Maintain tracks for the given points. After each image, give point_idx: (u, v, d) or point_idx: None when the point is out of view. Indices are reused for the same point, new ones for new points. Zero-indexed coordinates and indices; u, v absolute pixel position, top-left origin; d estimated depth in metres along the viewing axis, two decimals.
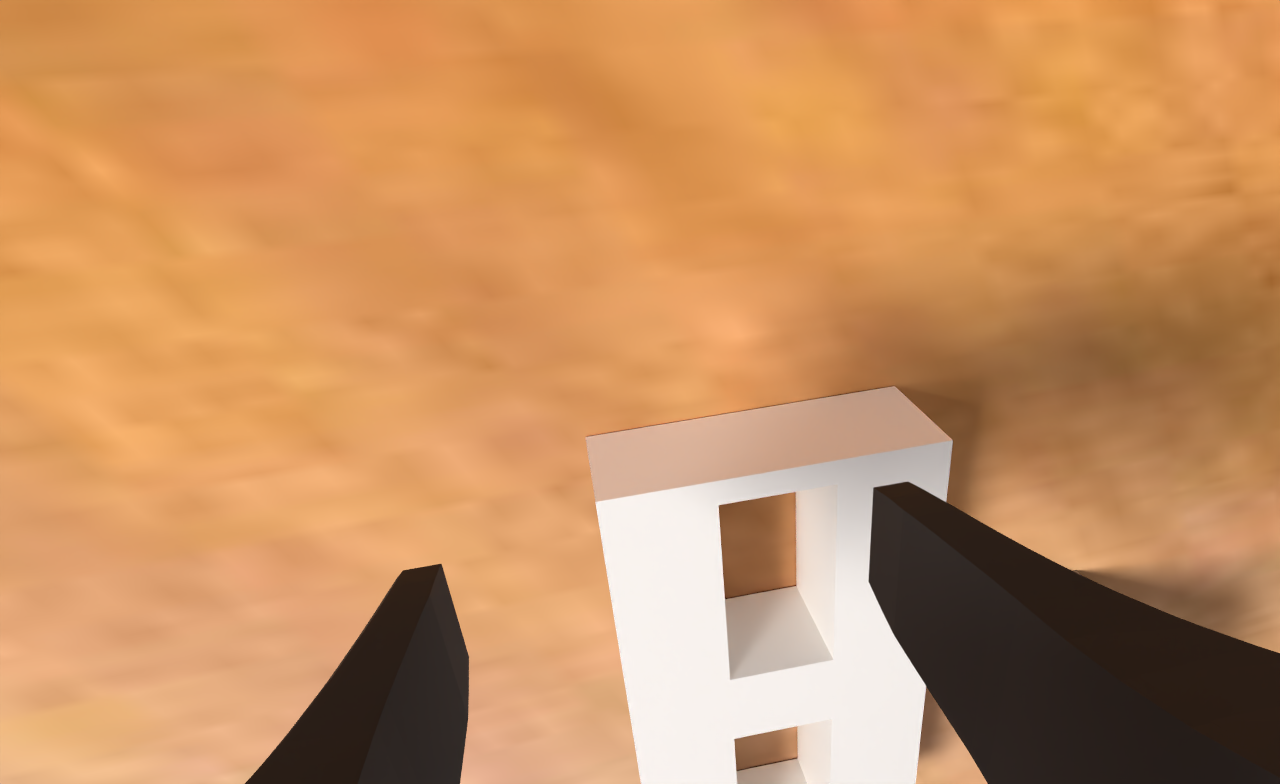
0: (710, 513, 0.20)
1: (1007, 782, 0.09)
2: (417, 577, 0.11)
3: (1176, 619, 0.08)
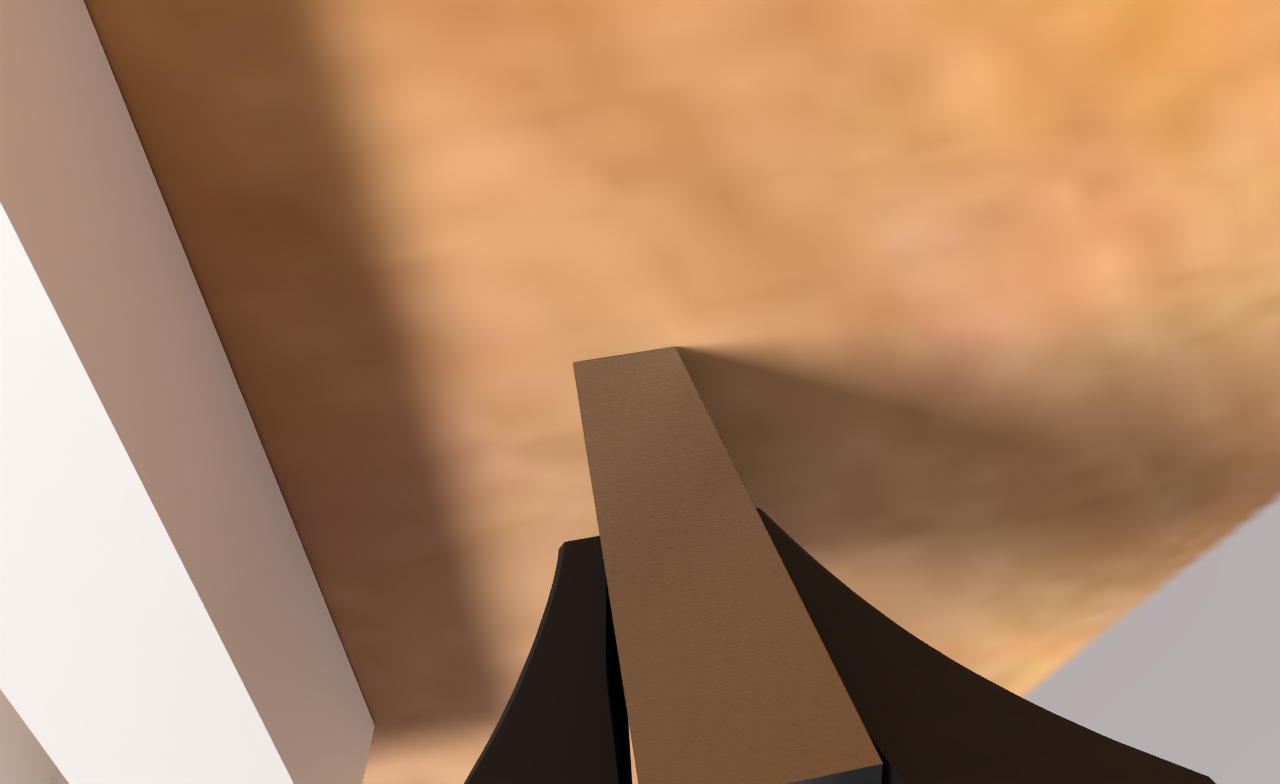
0: None
1: None
2: (585, 548, 0.11)
3: (957, 663, 0.08)
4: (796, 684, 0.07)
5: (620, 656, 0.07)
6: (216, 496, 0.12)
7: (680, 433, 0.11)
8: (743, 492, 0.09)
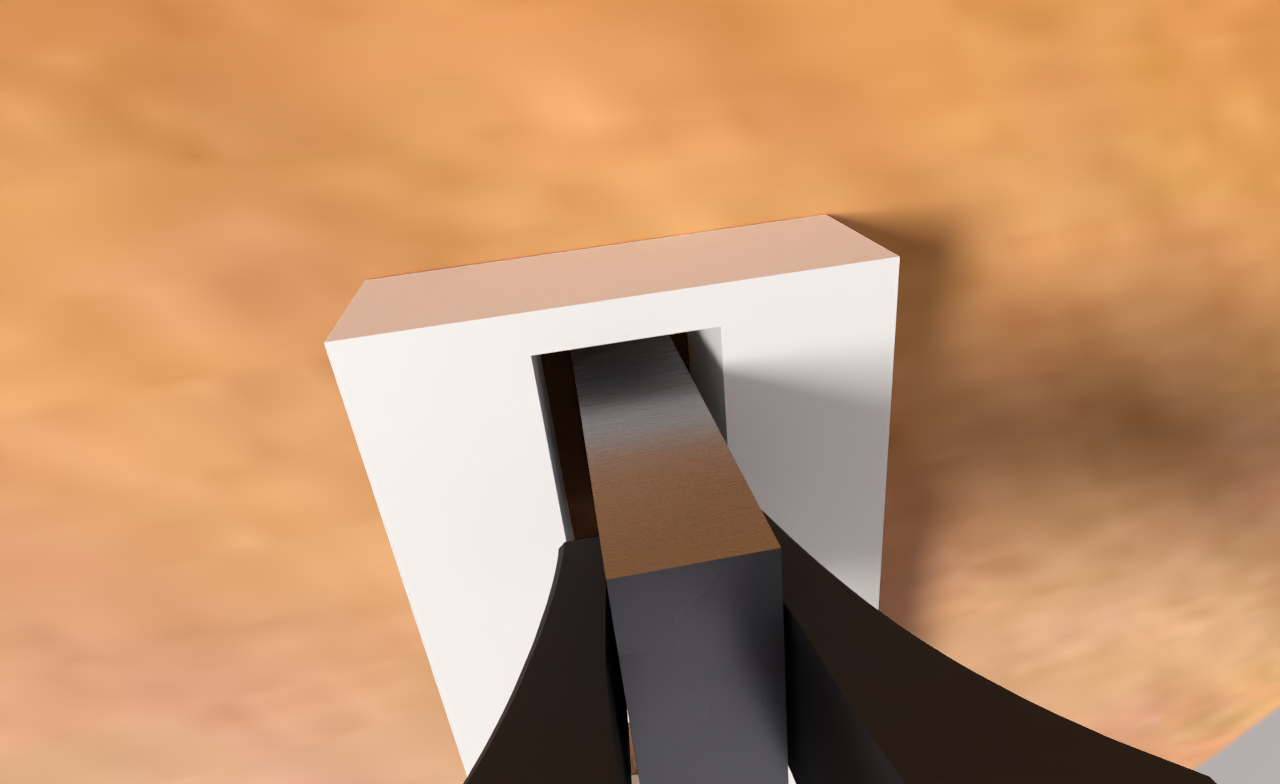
0: (519, 369, 0.13)
1: None
2: (584, 548, 0.11)
3: (958, 663, 0.08)
4: (725, 509, 0.09)
5: (595, 499, 0.09)
6: None
7: (653, 364, 0.13)
8: (699, 399, 0.12)
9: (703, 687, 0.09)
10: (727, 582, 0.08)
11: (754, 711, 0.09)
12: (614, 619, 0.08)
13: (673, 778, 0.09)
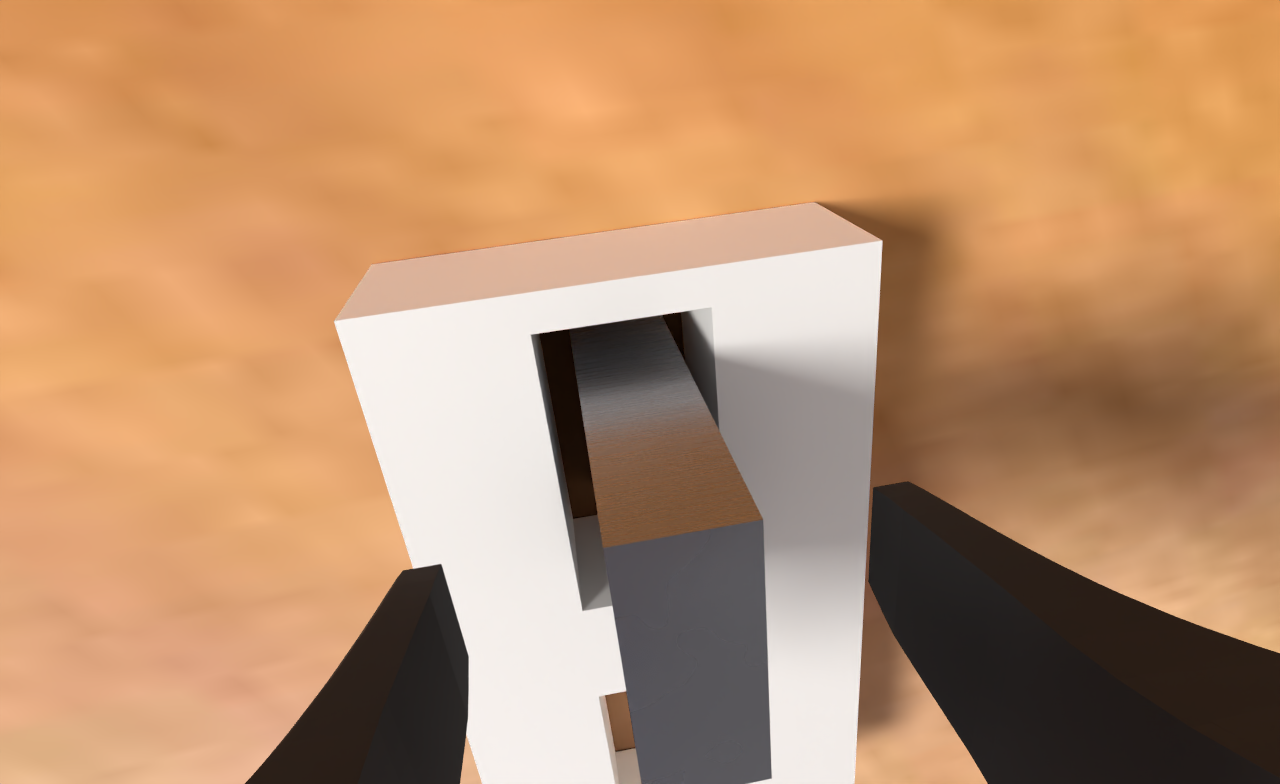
0: (519, 347, 0.13)
1: (1007, 782, 0.09)
2: (418, 577, 0.11)
3: (1178, 619, 0.08)
4: (713, 484, 0.10)
5: (593, 474, 0.10)
6: None
7: (648, 347, 0.14)
8: (691, 382, 0.12)
9: (691, 647, 0.10)
10: (714, 551, 0.09)
11: (738, 669, 0.10)
12: (610, 584, 0.09)
13: (664, 729, 0.10)
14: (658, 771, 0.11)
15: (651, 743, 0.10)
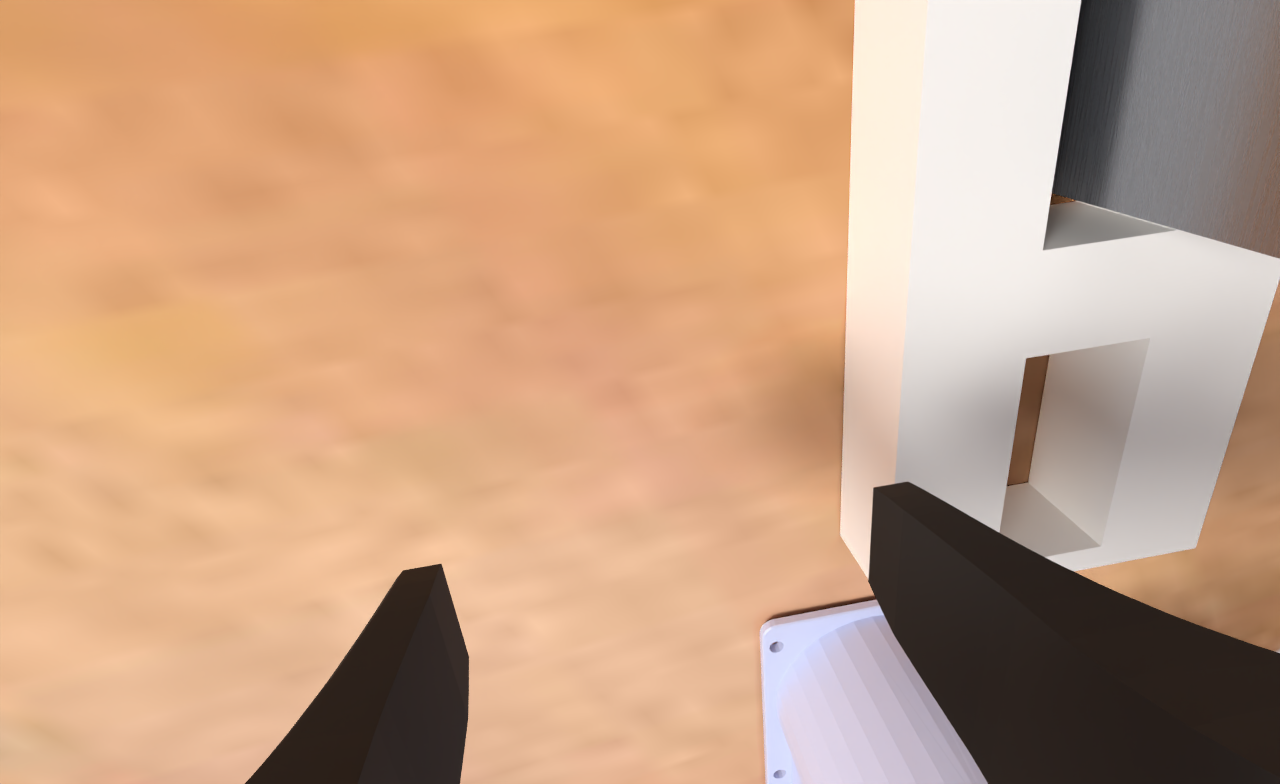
0: None
1: (1007, 782, 0.09)
2: (418, 578, 0.11)
3: (1178, 619, 0.08)
4: None
5: None
6: None
7: None
8: None
9: None
10: None
11: None
12: None
13: None
14: None
15: None
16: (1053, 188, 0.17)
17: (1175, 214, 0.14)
